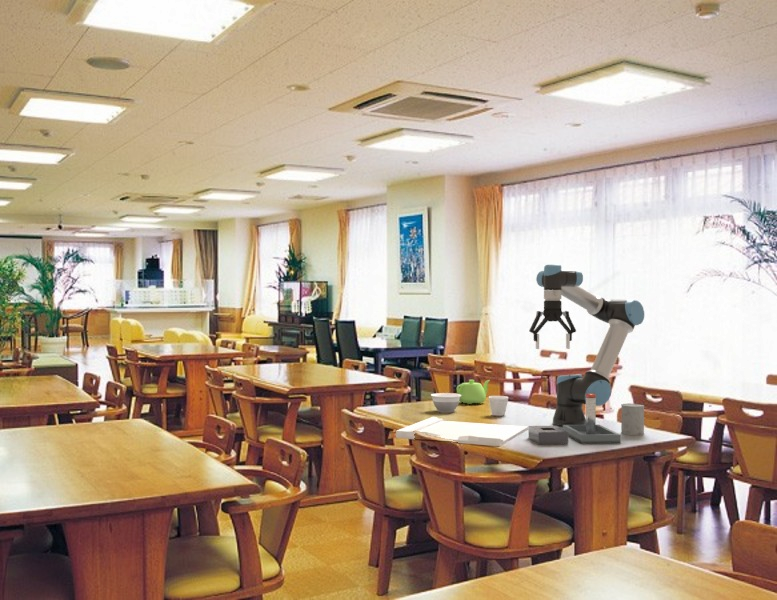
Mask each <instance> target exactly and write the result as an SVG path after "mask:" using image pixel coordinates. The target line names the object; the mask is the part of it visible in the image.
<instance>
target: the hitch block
mask: <svg viewBox="0 0 777 600" xmlns="http://www.w3.org/2000/svg"><path fill="white" fill-rule="evenodd" d="M528 439H530V440H531V441H532V442H533V443H535V444H537V445H538V446H550V445H551V446H554V445H555V446H557V445H558V446H560V445H569V436H568V432H567V431H565V430H564V429H563V427H560V426H559V425H528Z"/></svg>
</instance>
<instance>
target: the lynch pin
mask: <svg viewBox="0 0 777 600" xmlns="http://www.w3.org/2000/svg"><path fill="white" fill-rule="evenodd" d="M596 407H597V406H596V394H586V404H585V418H586V434H596V425H597V422H596V418H597V416H596V415H597V414H596V413H597V412H596V411H597V408H596Z"/></svg>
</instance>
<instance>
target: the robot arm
mask: <svg viewBox="0 0 777 600" xmlns="http://www.w3.org/2000/svg"><path fill="white" fill-rule="evenodd" d="M535 278H536V279H535V280H536V284H537V285H538V286H539V287H541V288H543V299H544V301H543V311H539V310H538V311H536V316H535V317H534V320H533V322H532V324H531V326H530V328H529V332H530V333H531V334H533V341H534V342H535V350H540V334H539V332H540V331H541V329H542V328H543V327H545V325H546V323H548V322H558V323H559V324H560V325H561V326H562V328H563V329H564V330H565V332H567V333H565V350H566V349H567V350H570V348H571V345H570V343H571V341H573V340H572V339H573V333H576V332H577V329H576V327H575V324H573V321H572V319H571V317H570V313H569V311H567V310H564V311H562V301H561V300H562V297H564V298H566V299H567V300H569V301H571V302H572V303H574V304H576V305H577V306H579V307H581V308H583V309H584V310H586V312H587V313H588V314H589V315H590V316H592V317H594V318H595V319H597V320H600V321H602V322H604V323H607V324H609V328H608V330H607V332H606V335H605V337H604V339H603V340H602V343H601V346H600V348H599V350H598V353H597V354H596V357H595V359H594V361H593V364H592V366H591V367H590V369H589V370H587V371H585V373H584V375H583V374H580V373H578V374H567V375H563V374H562V375H558V376H557V378H556V389H555V390H556V409H555V411H554V415H553V418H552V424H553V426H558V427H560V426H561V427H563V425H586V414H585V412H584V410H583V409H584V408H583V405H586V394H596V407H600V406H603V405H605V404H606V403H607V402H608V401H609V400H610V398H611V397H612V396H611V395H612V391H611V390H612V386H611V380H610V376H611V373H612V370H613V369H614V366H615V364H616V361H617V359H618V357H619V355H620V352H621V350H622V348H623V345H624V344H625V341H626V339H627V337H628V335H629V334H631V333H632V332H633V331H634V329H635V326H639V325H641V324H642V323H643V321H644V320H645V310H644V306H643V304H642V303H641V302H640V301H639V300H636V299H608V298H604V297H602V296H599V295H594V294H593V293H591V292H589V291H588V290H585V289H584V288H582V287H580V286H581V285H582V284H583V281H584V275H583V273H582V271H580V270H579V269H575V268H574V269H563V268H562V265H561V264H545V265H544V267H543V270H541V271H539V272H537V274H536V277H535ZM562 315H563V316H564V318H565V319H566V322H567V323H566V322H565V321H564V319H562ZM542 316H543V319H542V320H541V317H542ZM540 320H541V322H540V323H539V321H540ZM538 323H539V324H538ZM567 324H568V325H567Z"/></svg>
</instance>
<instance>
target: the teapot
mask: <svg viewBox="0 0 777 600" xmlns="http://www.w3.org/2000/svg"><path fill="white" fill-rule="evenodd" d="M490 381H491V379H487V380H485V381H484V383H483V385H482V383H480V382H475V379H468V382H462V383H460V384H459V385H457V386H456V394H460V395H461V397H460V398H459V403H462V402H463V403H462V404H467V405H468V404H471V405H473V404H477V403H481V404H482V403H484V402H485V401H486V399H487V398H486V397H487V393H488V385H489V383H490Z"/></svg>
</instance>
